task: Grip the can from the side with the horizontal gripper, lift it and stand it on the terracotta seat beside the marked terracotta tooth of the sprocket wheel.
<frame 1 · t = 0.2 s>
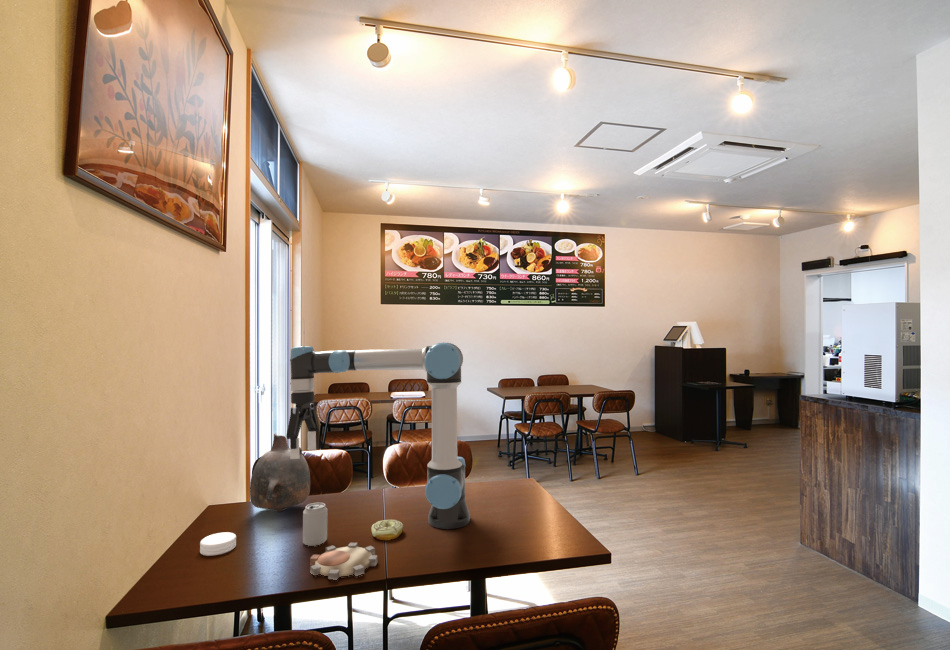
hand: (303, 454, 155), 27 cm above the table, tool pointing down, fingers open, 13 cm apart
jug: (280, 512, 175), on the table
can: (315, 543, 148), on the table
sprocket wheel: (343, 563, 133), on the table
decorated donut: (387, 535, 154), on the table
white thick disc: (218, 550, 144), on the table
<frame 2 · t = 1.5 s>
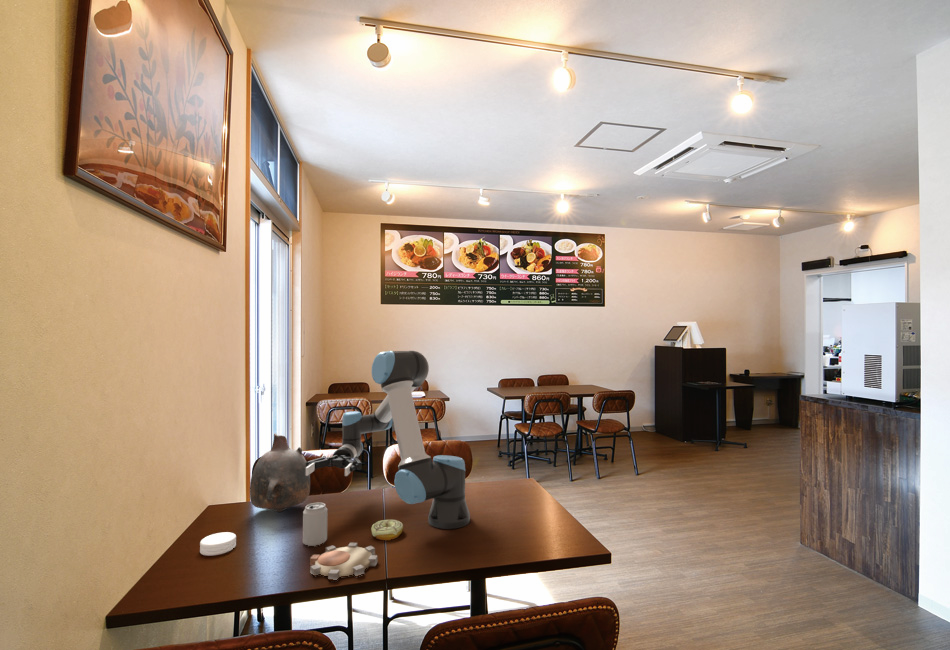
hand: (326, 472, 158), 20 cm above the table, tool horizontal, fingers open, 13 cm apart
nothing on the table moved.
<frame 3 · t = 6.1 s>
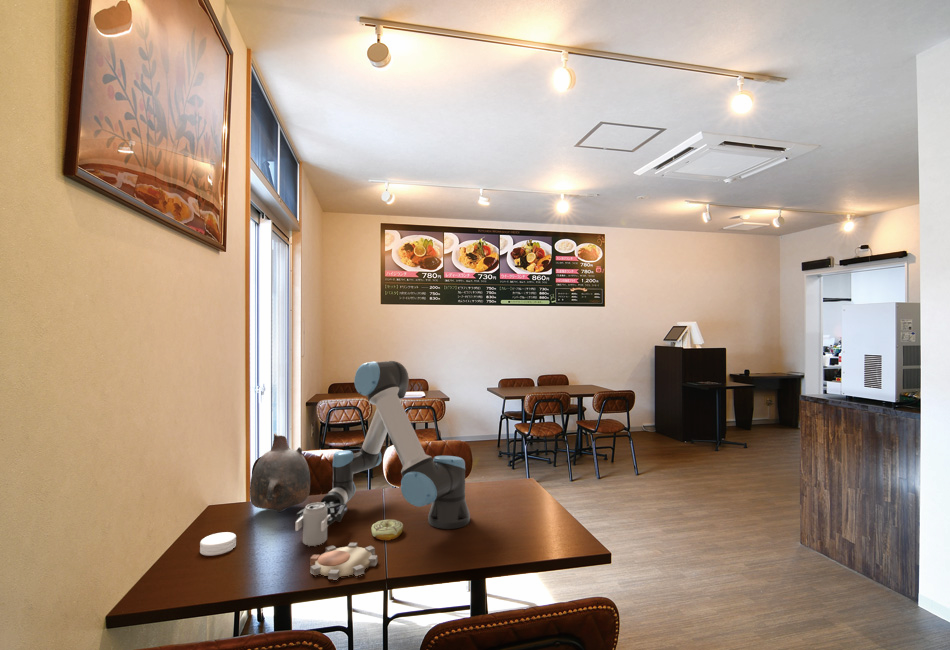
hand: (309, 526, 143), 7 cm above the table, tool horizontal, fingers closed on can, 7 cm apart
can: (315, 543, 148), on the table, touching gripper
everything else where it was.
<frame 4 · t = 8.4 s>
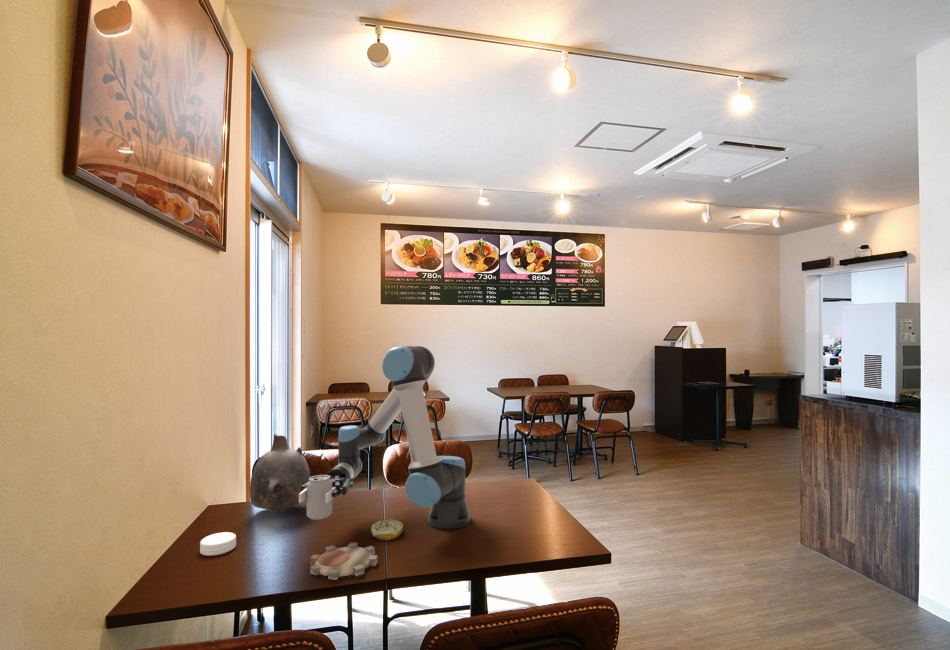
hand: (313, 498, 137), 18 cm above the table, tool horizontal, fingers closed on can, 7 cm apart
can: (319, 516, 141), point 11 cm above the table, touching gripper
everything else where it was.
when the fingers open (10 cm above the table, at t = 10.8 s): can drops 1 cm, resting on sprocket wheel.
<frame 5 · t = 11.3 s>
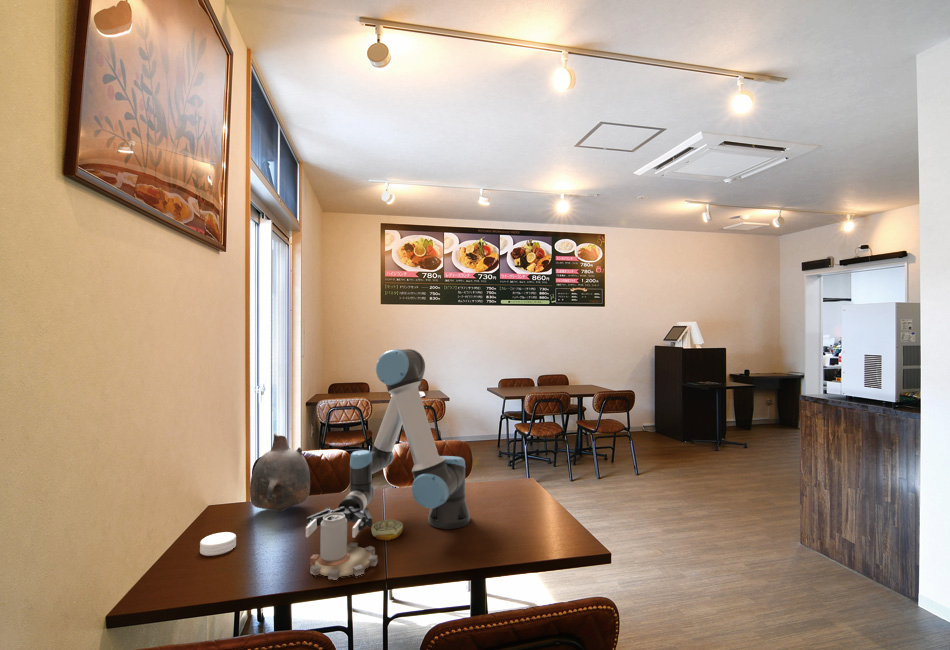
hand: (330, 532, 131), 10 cm above the table, tool horizontal, fingers open, 13 cm apart
can: (333, 557, 133), point 2 cm above the table, touching sprocket wheel
everything else where it was.
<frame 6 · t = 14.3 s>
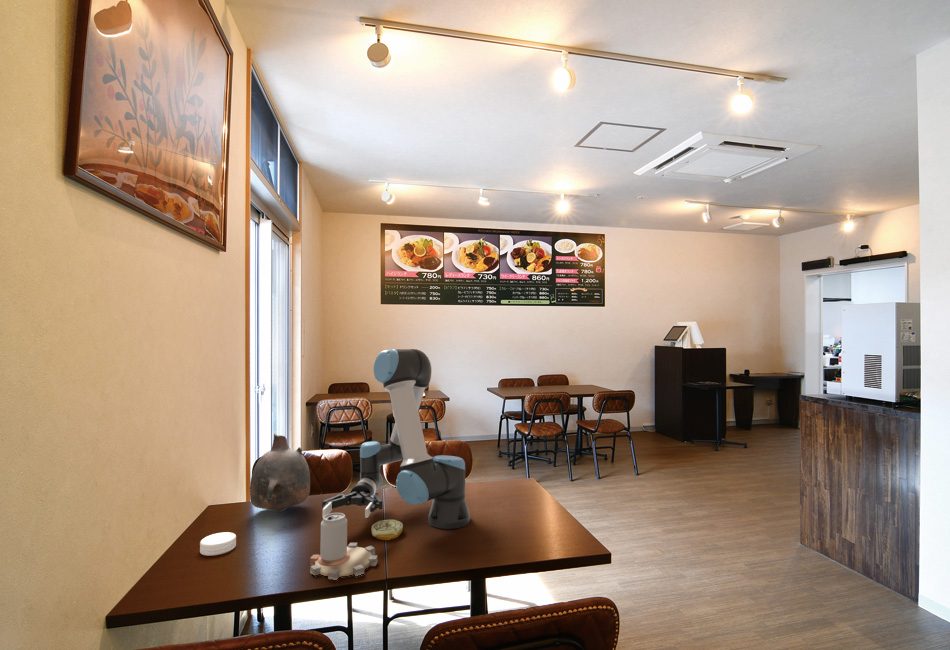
hand: (344, 513, 144), 11 cm above the table, tool horizontal, fingers open, 13 cm apart
nothing on the table moved.
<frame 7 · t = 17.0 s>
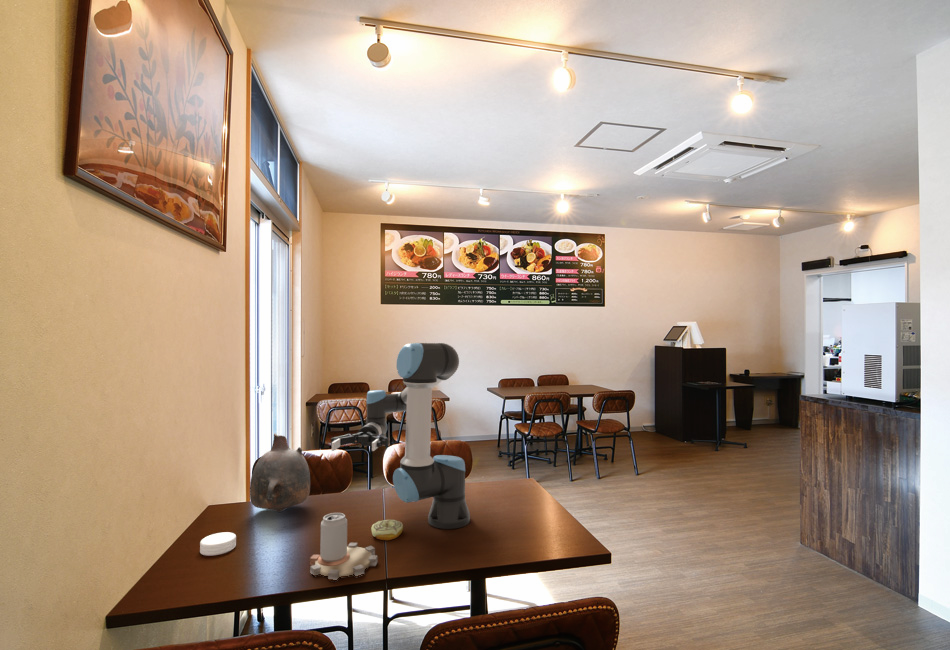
hand: (352, 446, 152), 30 cm above the table, tool horizontal, fingers open, 13 cm apart
nothing on the table moved.
at the end: can 0.0 cm from the target spot on the sprocket wheel, point 1.6 cm above the sprocket wheel's base; can tilted 0°; the gripper is holding nothing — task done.
